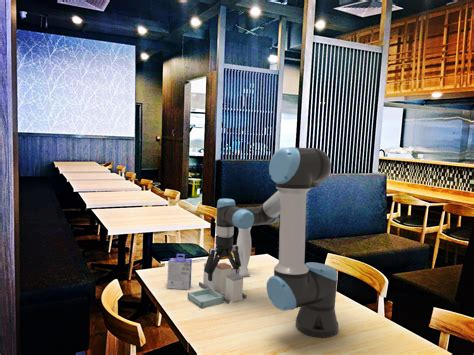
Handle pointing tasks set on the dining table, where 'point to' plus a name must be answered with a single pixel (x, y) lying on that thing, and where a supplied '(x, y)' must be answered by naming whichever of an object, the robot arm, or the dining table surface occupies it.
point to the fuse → (221, 277)
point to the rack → (228, 287)
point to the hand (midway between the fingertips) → (222, 285)
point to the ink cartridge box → (179, 272)
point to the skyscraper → (244, 251)
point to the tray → (205, 297)
